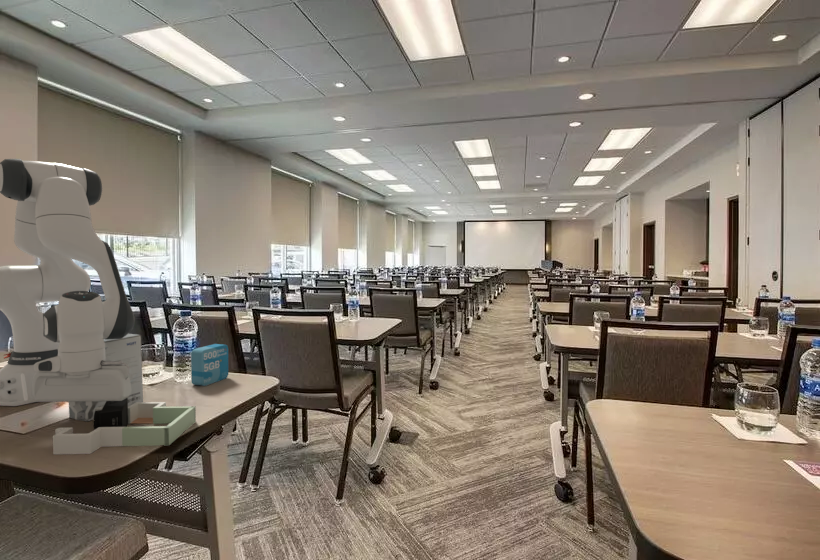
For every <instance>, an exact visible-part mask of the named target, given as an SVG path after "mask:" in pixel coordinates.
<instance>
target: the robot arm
mask: <svg viewBox="0 0 820 560" xmlns="http://www.w3.org/2000/svg"><path fill="white" fill-rule="evenodd" d="M0 194H1V195H3V196H4V197H5V198H7V199H10V200H14V201H17V202H16V206H15V207H16V208H15V215H14V216H15V217H14V235H13V241H14V245H15V246H16V247H17V248H18V250H20V251H21V252H23V253H24V254H27V255H30V256H32V257H35V258H37V259H39V261H40V263H39V264H35V265H33V264H32V265H0V311H1V312H2V314H4V315H5V317H6V318H7V320H8V322H9V324H10V326H11V332H12V340H13V350H12V351H11V352H9V353H5V354H3V356H4V357H3V359H8V360H7V362H6V364H5V365H4V366H3V367H1V368H0V406H2V407H3V406H5V407H17V406H23V405H28V404H32V403H42V402H43V403H48V402H49V403H50V402H51V403H53V402H54V403H55V402H56V403H58V402H60V403H61V402H62V403H63V402H64V403H65V402H68V407H69V406H70V408H71V409H72V411H73V412H74V413H75V419H74V420H76V421H82V420H89V419H91V418H92V417H93V410H94V408H95V406H96V405H97V403H98V401H122V400H124V399H126V398H127V397H129V396H130V394H131V382H130V377H129V366H128V365H127V364H126V363H123V361H106V352H105V342H104V340H103V339H121V338H123V337H124V336H126V335H127V334H130V333H131V331H132V330H133V329H134V328H135V327H134V326H135V316H134V312H133V308H132V306H131V304H130V301H129V300H128V297H127V294H126V291H125V288H124V285H123V281H122V278H121V274H120V272H119V268H118V265H117V262H116V259H115V256H114V253H113V251H112V249H111V247H110V245H109V243H108V242H106V241H105V240H102V239H101V238H100V237H99V236H98V235H97V233H96V232H95V230H94V226H93V223H92V214H91V208H90V206H94V205H96V204H97V203H99V202H100V200H101V197H102V195H103V183H102V180H101V177H100V175H99V174H98V173H97V172H96V171H93V170H91V169H88V168H85V167H77V166H72V165H69V164H68V165H67V164H65V163H58V162H47V161H39V160H22V159H21V158H5V159H3V160H2V161H0ZM73 260H74V261H77V262H81V263H83V264H85V265H88V266H89V267H91V268H92V269H94V271H96V273H97V275H98V279H99V281H100V285H101V288H102V291H103V295H104V297H105V300H104V301H102V298H101V295H100V294H98V293H97V292H94V291H90V288H91V284H92V281H91V277H90V275H89V273H88V272H87V271H86V270H85V269H84V268H82V267H81V266H79V265H78V264H77V263H76V262H74V261H73ZM50 302H58V304H57V305H56V304H55V305H52V306H51V307H49V308H48V309H47V310H46V311H45V312H42V311H39V310H38V308H37V304H38V303H50ZM123 364H124V365H123ZM82 401H86V406H88V408H87V409H86V410H83V409H82V408H81V406H80V403H81V402H82Z"/></svg>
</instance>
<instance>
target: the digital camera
mask: <svg viewBox="0 0 820 560" xmlns="http://www.w3.org/2000/svg"><path fill="white" fill-rule="evenodd" d="M92 422H93V423H92V424H93V430H95V429H97V428H98V427H129V424H128V398H126V399H124V400H122V401H106V403H105V405H104V407H103V408H102V410H98V411H95V413H94V420H93V421H92Z"/></svg>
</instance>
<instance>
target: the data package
mask: <svg viewBox="0 0 820 560" xmlns="http://www.w3.org/2000/svg"><path fill="white" fill-rule="evenodd" d="M190 359H191V360H190V366H191V368H190V369H191V370H190V371H191V374H190V375H191V380H190V381H191V383H192V385H194V386H200V387H201V386H202V387H205V386H206V387H207V386H209V385H212V384H215V383H218V382H221V381H223V380H226V379H227V378H228V377H229V347H228V345H227V344H223V343H221V344H220V343H213V344H209V345H205V346H201V347H197V348H196V347H195V348H194V349H192V351H191V353H190Z"/></svg>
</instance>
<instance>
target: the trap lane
mask: <svg viewBox="0 0 820 560" xmlns="http://www.w3.org/2000/svg"><path fill="white" fill-rule="evenodd" d="M102 408H103V407H97V408H95V411H98V410H102ZM196 408H197V407H196V406H195V405H194V406H192V405H189V406H186V405H185V406H183V405H182V406H167V402H166V401H150V402H149V401H143V402H136V403H134V404H132V405H131V406H129V407H128V425H148V424H150V425H151V424H153V425H154V424H155V426H152V425H151V426H127V427H98V428H97V429H95V430H94V429H93V430H92V431H90V432H88V433H74V427H57V428H56V429H55V434H54V435H53V436H52V448H53V449H52V450H53V451H52V454H53V455H86V454H88V455H90V454H92V453H94V452H96V451H97V450H98V449H100V448H101V447H102V448H103V447H151V446H153V447H154V446H155V447H156V446H157V447H159V446H160V445H164V446H170V445H172V443H174V442H175V441H176V440H177V439H178V438H179V437H180V436H181V435H183V432H184V431H185V430H186V431H187V430H188V429H189V428H190V427H192V426H193V425H194V424H195V423H197V421H196V420H197V418H196V417H197V416H196V411H197V410H196ZM158 424H163V425H164V424H167V425H164V426H163V425H162V426H161V425H159V426H158ZM156 425H157V426H156ZM186 431H185V432H186ZM185 432H184V433H185Z"/></svg>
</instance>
